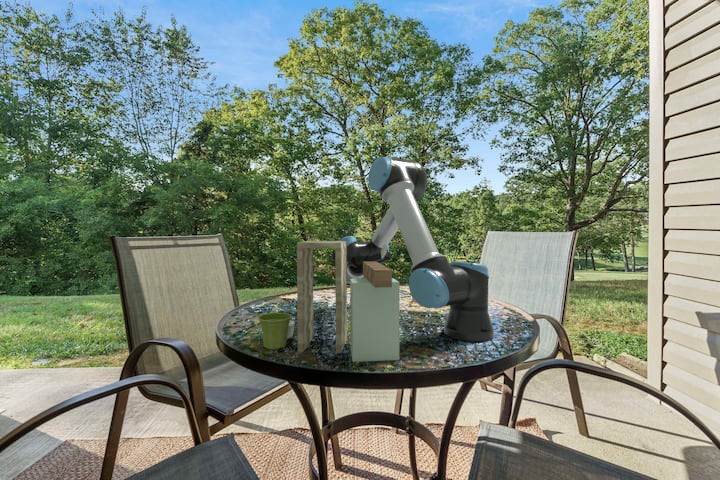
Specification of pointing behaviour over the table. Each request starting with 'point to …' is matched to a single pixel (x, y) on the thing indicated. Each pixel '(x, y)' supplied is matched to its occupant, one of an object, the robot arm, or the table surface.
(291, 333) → the ramekin
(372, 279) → the rail
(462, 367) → the table surface
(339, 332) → the bridge
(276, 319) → the plant pot
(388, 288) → the block
